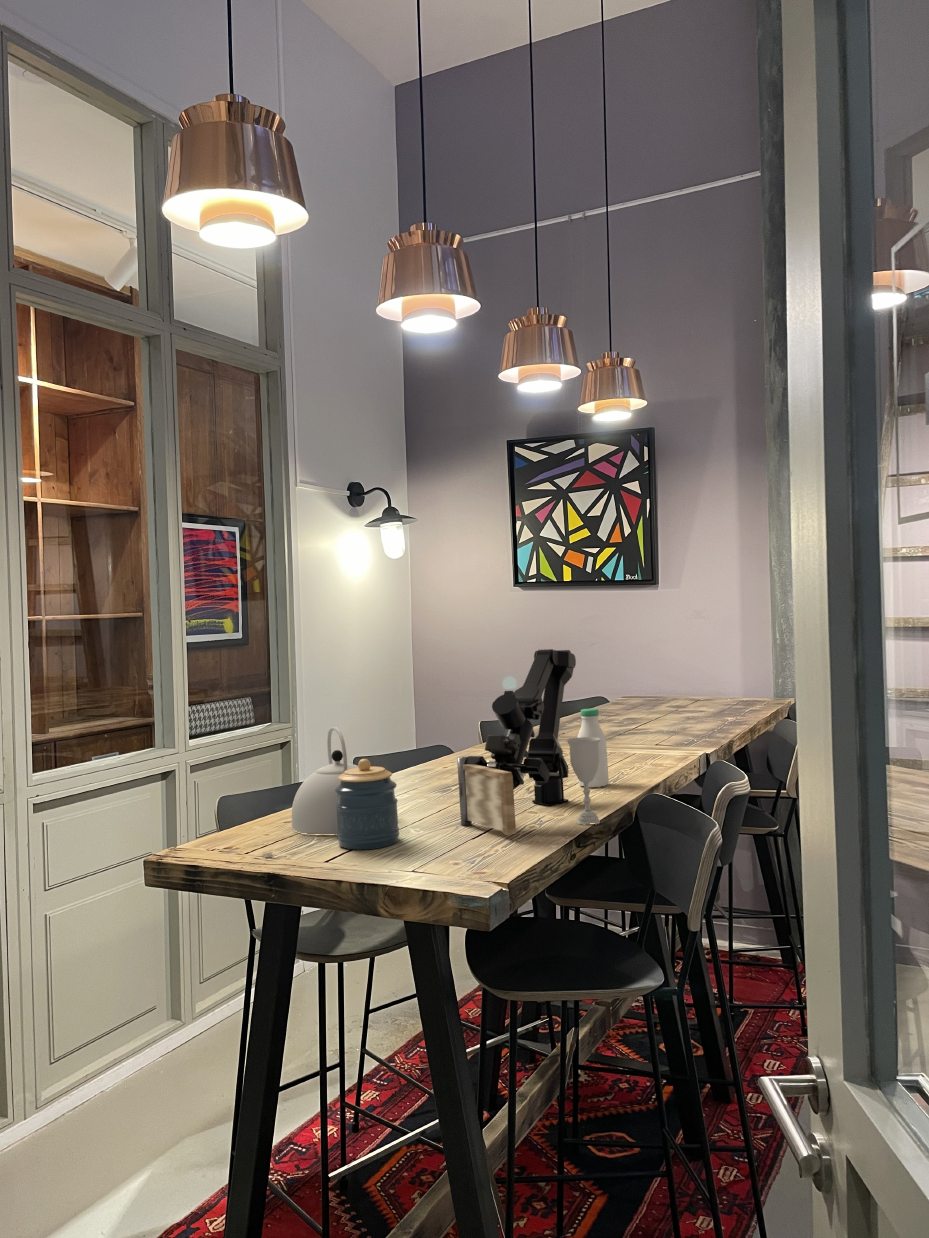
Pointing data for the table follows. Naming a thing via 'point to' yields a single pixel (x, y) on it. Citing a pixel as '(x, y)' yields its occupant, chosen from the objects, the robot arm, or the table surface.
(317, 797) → the kettle
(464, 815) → the hinge post
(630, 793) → the table surface
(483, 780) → the gate
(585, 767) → the chalice
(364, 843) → the canister
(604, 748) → the milk bottle
